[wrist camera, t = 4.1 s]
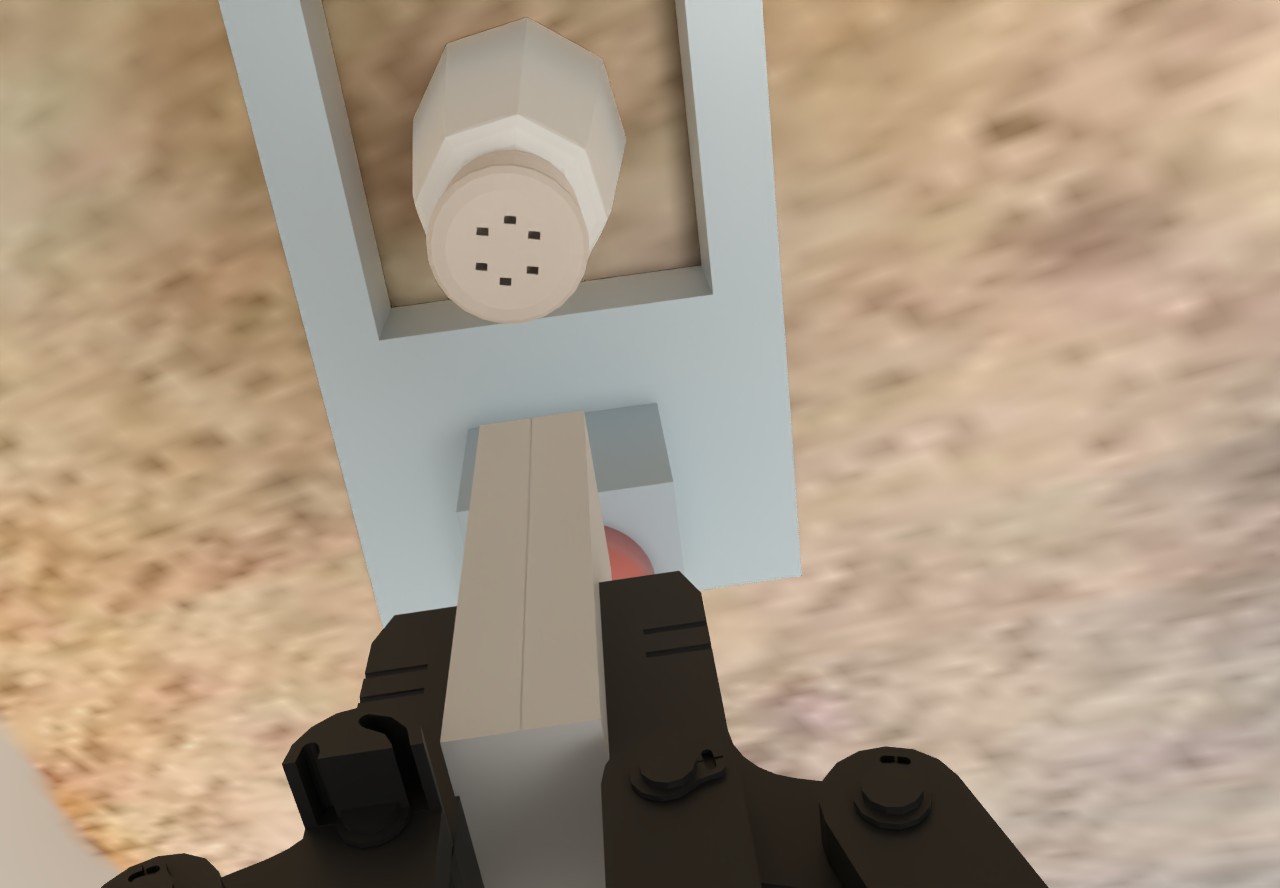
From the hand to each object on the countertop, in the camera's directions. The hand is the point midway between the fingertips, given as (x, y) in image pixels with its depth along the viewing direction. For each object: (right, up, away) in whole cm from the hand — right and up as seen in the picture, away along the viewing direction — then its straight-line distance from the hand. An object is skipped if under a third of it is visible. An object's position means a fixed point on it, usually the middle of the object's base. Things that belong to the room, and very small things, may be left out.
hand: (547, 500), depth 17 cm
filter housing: (-1, +6, +14) cm, 15 cm away
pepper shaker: (-2, +9, +13) cm, 16 cm away
